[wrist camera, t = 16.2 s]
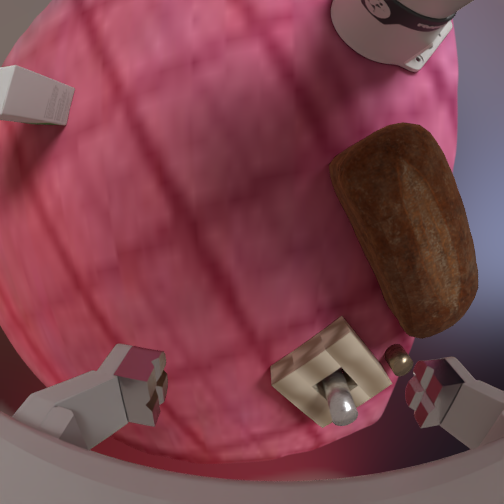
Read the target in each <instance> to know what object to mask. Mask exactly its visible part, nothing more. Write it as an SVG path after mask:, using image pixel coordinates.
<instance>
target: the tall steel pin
mask: <svg viewBox="0 0 504 504" xmlns="http://www.w3.org/2000/svg"><path fill="white" fill-rule="evenodd" d="M322 383H323V387H324V391H325V394H326V398H327V402H328V406H329V409H330V413H331V417H332V421H333V423H334V424H335V425H338V426H344V425H348V424H350V423H352V422H353V421H355V420H356V418H357V416H358V412H357V409H356V406H355V404H354V401H353V398H352V396H351V393H350V390H349V387H348V385H347V382H346V379H345V377H344V374H343V371H342V369H341V368H339V369H338V370H336V371H335V372H333V373H332V374H330V375H329V376H327V377H326V378H324V379H323V380H322Z"/></svg>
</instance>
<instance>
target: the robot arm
mask: <svg viewBox="0 0 504 504" xmlns="http://www.w3.org/2000/svg"><path fill="white" fill-rule="evenodd" d="M472 1H474V0H333V2H332V6H331V19H332V22H333V25H334V27H335V29H336V31H337V32H338V34H339V35H340V37H341V38H342V39H343V40H344V41H345V43H346V44H347V45H349V46H350V47H351V48H352V49H353V50H355V51H356V52H357V53H359V54H361V55H362V56H364V57H366V58H368V59H371V60H373V61H376V62H380V63H385V64H394V65H399V66H401V67H403V68H405V69H407V70H409V71H412V72H417V71H419V70H420V69H421V68H422V67H423V65H424V64H425V63H426V62H427V60H428V59H429V58H430V56H431V55H432V54H433V52H434V51H435V50H436V49H437V47H438V46H439V45H440V43H441V42H442V41H443V39H444V38H445V37H446V35H447V34H448V33H449V32H450V30H451V29H452V23H451V20H452V18H453V17H454V16H455V14H456V12H457V11H458V10H459V9H461V8H462V7H464V6H466V5H467V4H469V3H470V2H472ZM416 58H417V59H418V61H419V62H418V61H417V60H416ZM165 365H166V356H165V353H164V351H158V350H152V349H147V348H141V347H136V346H131V345H125V344H116V346H115V347H114V348H113V350H112V351H111V352H110V354H109V355H108V356H107V358H106V359H105V360H104V362H103V363H102V365H101V366H100V367H99V369H98V370H97V371H93V370H92V371H90V372H87V373H85V374H82V375H80V376H77V377H75V378H72V379H69V380H67V381H64V382H62V383H59V384H56V385H54V386H51V387H49V388H46V389H43V390H41V391H38V392H35V393H32V394H31V395H30V396H29V397H28V398H27V399H26V401H25V402H24V403H23V404H22V405H21V407H20V408H19V409H18V410H17V411H16V413H15V414H14V415H13V416H12V417H10V416H8V415H6V414H5V413H2V412H1V411H0V504H504V392H503V391H501V390H499V389H497V388H495V387H493V386H490V385H488V384H486V383H484V382H481V381H479V380H478V381H476V380H475V379H474V378H473V377H472V376H471V374H470V373H469V372H468V371H467V370H466V369H465V368H464V366H463V365H462V364H461V363H460V362H459V361H458V360H457V359H456V358H454V357H448V358H441V359H434V360H424V361H418V362H417V364H416V365H415V367H414V370H413V373H414V377H413V378H412V379H411V380H410V381H409V382H408V385H407V387H406V394H405V398H406V402H407V404H408V406H409V407H411V408H412V409H413V410H415V413H414V417H415V419H416V420H417V422H418V424H419V426H420V428H424V427H430V426H436V425H440V426H441V427H442V428H444V429H445V430H446V431H448V432H449V433H450V434H452V435H453V436H454V437H456V438H457V439H458V440H460V441H461V442H462V443H464V444H465V445H466V446H468V447H469V448H470V449H471V450H468V451H465V452H463V453H459V454H456V455H453V456H450V457H447V458H444V459H440V460H436V461H433V462H429V463H425V464H421V465H417V466H413V467H408V468H404V469H399V470H394V471H389V472H383V473H378V474H371V475H365V476H357V477H349V478H340V479H328V480H312V481H250V480H233V479H223V478H212V477H204V476H197V475H189V474H184V473H178V472H172V471H167V470H161V469H157V468H152V467H147V466H143V465H139V464H135V463H131V462H127V461H123V460H120V459H116V458H112V457H109V456H106V455H103V454H99V453H96V452H93V451H90V449H91V448H93V447H94V446H96V445H97V444H99V443H100V442H102V441H103V440H105V439H106V438H108V437H109V436H110V435H112V434H113V433H115V432H116V431H118V430H119V429H120V428H122V427H123V426H125V425H126V424H127V423H128V422H133V423H138V424H143V425H148V426H154V427H155V425H156V422H157V420H158V417H159V414H160V406H159V405H160V404H162V403H163V402H164V401H165V398H166V394H167V388H168V377H167V373H166V372H165V371H164V370H163V369H164V367H165Z"/></svg>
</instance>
